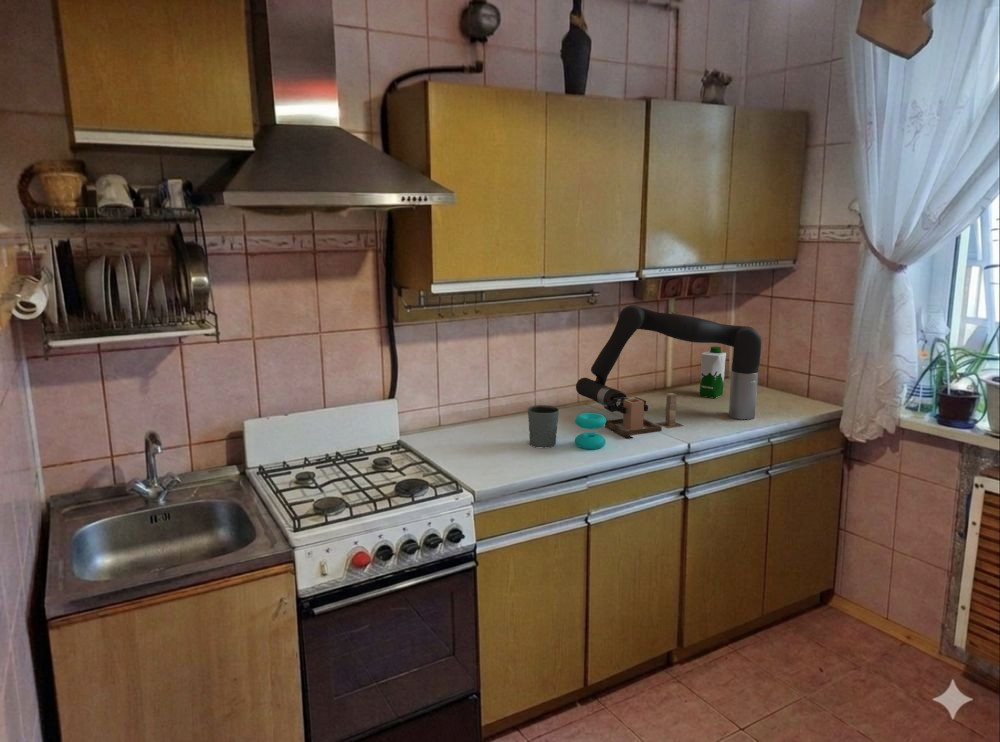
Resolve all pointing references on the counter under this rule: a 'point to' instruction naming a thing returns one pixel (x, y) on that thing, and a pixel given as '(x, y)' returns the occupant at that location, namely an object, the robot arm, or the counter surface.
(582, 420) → the donuts
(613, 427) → the tray
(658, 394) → the counter surface
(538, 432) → the grey tapered cup
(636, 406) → the sleeve
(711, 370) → the milk carton
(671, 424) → the post
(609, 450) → the counter surface
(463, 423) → the counter surface
